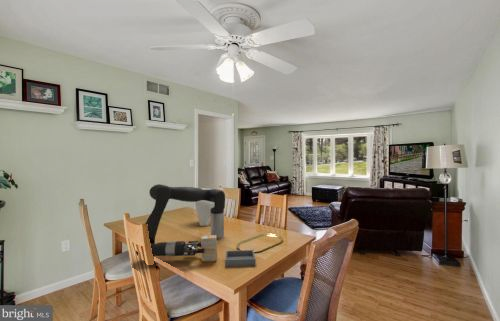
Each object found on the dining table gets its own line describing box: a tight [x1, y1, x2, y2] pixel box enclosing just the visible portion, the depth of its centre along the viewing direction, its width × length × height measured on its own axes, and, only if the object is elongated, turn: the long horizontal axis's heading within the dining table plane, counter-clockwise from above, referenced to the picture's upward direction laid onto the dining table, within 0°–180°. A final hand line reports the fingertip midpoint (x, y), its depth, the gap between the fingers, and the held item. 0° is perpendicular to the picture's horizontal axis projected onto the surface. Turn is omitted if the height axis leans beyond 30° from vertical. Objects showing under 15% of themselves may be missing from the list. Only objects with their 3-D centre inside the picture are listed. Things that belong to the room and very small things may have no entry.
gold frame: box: [236, 233, 283, 254], centre depth 156 cm, size 19×35×2 cm, turn 135°
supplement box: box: [200, 234, 218, 263], centre depth 133 cm, size 8×5×13 cm, turn 92°
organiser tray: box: [225, 249, 256, 268], centre depth 131 cm, size 12×16×4 cm
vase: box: [194, 187, 214, 227], centre depth 197 cm, size 15×15×29 cm
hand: (205, 247), depth 133 cm, fingers open, 8 cm apart
